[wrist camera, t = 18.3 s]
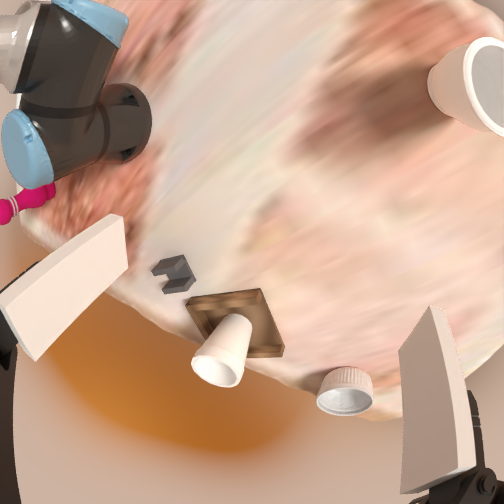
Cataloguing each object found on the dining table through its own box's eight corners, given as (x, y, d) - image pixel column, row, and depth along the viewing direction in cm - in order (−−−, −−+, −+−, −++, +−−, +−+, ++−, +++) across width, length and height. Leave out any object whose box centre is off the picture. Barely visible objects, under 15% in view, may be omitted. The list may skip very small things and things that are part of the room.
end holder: (221, 349, 64) (217, 358, 62) (191, 297, 58) (185, 305, 56) (284, 346, 58) (282, 357, 55) (260, 288, 52) (255, 298, 49)
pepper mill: (59, 188, 55) (-4, 222, 38) (52, 205, 59) (-5, 240, 42) (46, 168, 53) (-16, 198, 37) (40, 185, 57) (-17, 217, 40)
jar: (443, 42, 22) (490, 18, 10) (490, 94, 23) (549, 99, 11) (406, 86, 28) (444, 77, 16) (455, 138, 29) (508, 160, 17)
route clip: (174, 283, 58) (164, 294, 54) (161, 259, 55) (150, 270, 52) (196, 280, 55) (187, 292, 52) (183, 254, 53) (173, 265, 50)
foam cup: (267, 335, 56) (249, 385, 46) (233, 343, 61) (212, 388, 50) (242, 302, 54) (218, 351, 43) (208, 313, 58) (181, 358, 47)
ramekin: (316, 390, 63) (311, 412, 57) (324, 359, 57) (320, 384, 51) (365, 395, 60) (364, 418, 54) (381, 365, 53) (381, 390, 48)
